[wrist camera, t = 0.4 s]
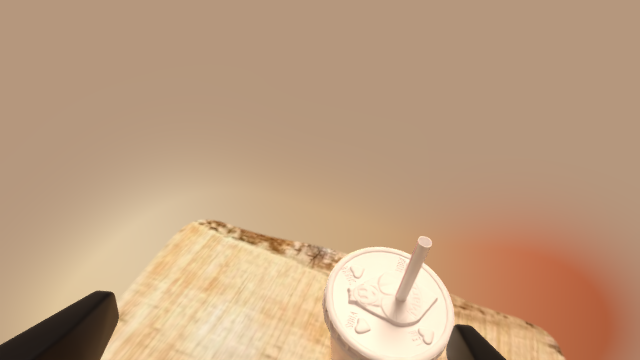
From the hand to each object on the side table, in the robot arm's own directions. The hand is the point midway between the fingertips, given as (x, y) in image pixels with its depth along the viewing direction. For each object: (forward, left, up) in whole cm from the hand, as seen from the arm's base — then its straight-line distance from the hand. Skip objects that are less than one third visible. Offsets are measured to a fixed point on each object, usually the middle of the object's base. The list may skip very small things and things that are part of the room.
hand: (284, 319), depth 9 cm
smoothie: (+4, -5, -16) cm, 17 cm away
